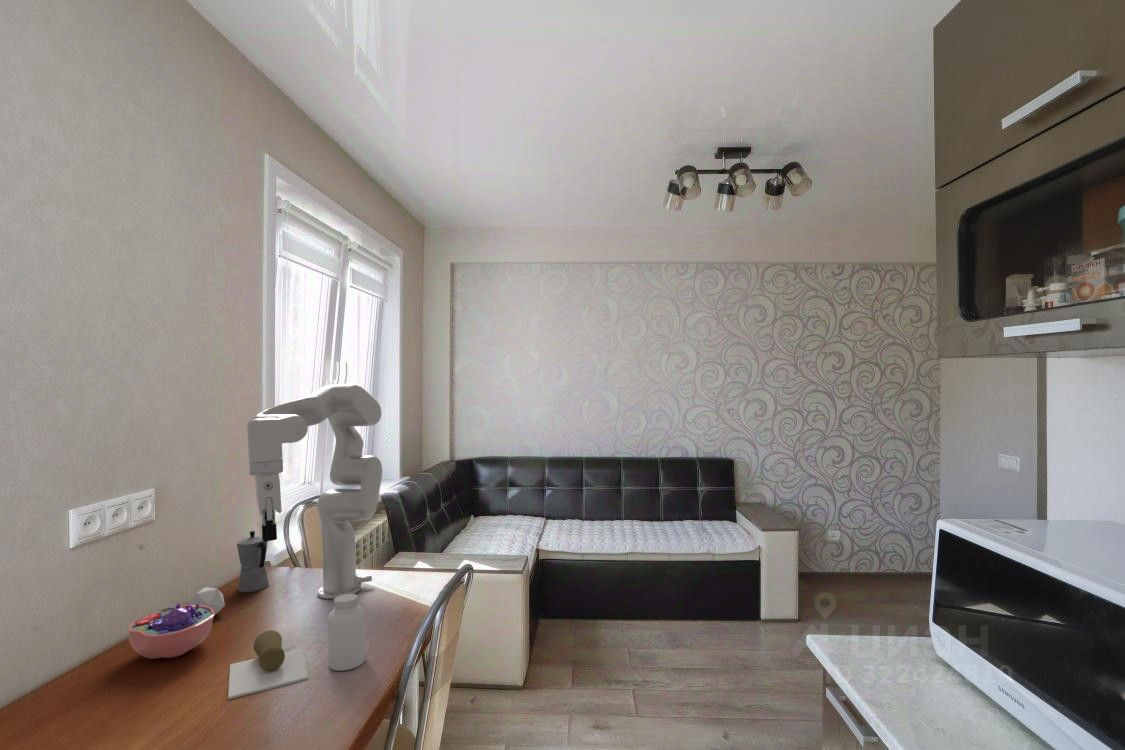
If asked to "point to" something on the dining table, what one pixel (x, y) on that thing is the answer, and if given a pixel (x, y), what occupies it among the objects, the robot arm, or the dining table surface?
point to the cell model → (171, 630)
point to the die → (209, 599)
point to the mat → (265, 674)
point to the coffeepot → (252, 564)
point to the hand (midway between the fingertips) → (269, 539)
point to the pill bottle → (346, 633)
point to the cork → (269, 650)
